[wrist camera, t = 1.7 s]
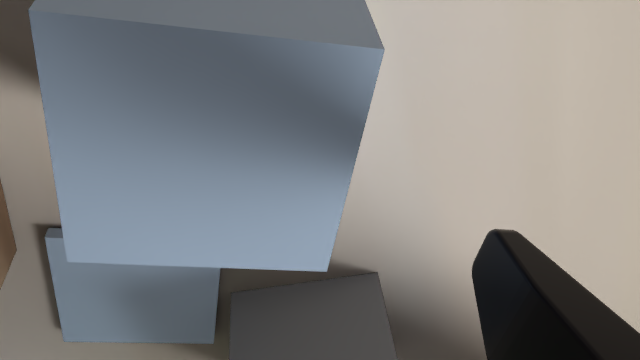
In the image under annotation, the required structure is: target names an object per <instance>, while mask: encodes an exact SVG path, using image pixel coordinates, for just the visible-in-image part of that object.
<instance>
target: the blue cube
mask: <svg viewBox="0 0 640 360" xmlns="http://www.w3.org/2000/svg"><path fill="white" fill-rule="evenodd" d="M28 12H29V18H30V24H31V31H32V37H33V44H34V50H35V57H36V63H37V70H38V76H39V83H40V89H41V96H42V102H43V109H44V115H45V122H46V128H47V135H48V141H49V148H50V154H51V160H52V167H53V173H54V180H55V186H56V193H57V199H58V206H59V212H60V219H61V225H62V232H63V238H64V245H65V251H66V258H67V262H77V263H104V264H131V265H158V266H185V267H212V268H239V269H266V270H293V271H320V272H327V269H328V265H329V261H330V258H331V254H332V250H333V246H334V242H335V238H336V235H337V231H338V227H339V223H340V219H341V215H342V211H343V208H344V204H345V200H346V196H347V192H348V188H349V184H350V181H351V177H352V173H353V169H354V165H355V161H356V158H357V154H358V150H359V146H360V142H361V138H362V134H363V131H364V127H365V123H366V119H367V115H368V111H369V108H370V104H371V100H372V96H373V92H374V88H375V84H376V81H377V77H378V73H379V69H380V65H381V61H382V58H383V54H384V50H385V49H384V47H383V44H382V42H381V39H380V37H379V34H378V32H377V29H376V27H375V24H374V22H373V19H372V17H371V14H370V12H369V10H368V7H367V5H366V2H365V0H35V1H34V2H33V4H32V5H31V7H30V8H29V9H28Z"/></svg>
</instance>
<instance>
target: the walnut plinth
mask: <svg viewBox="0 0 640 360" xmlns="http://www.w3.org/2000/svg"><path fill="white" fill-rule="evenodd" d="M16 251H17V249H16V245H15V241H14V236H13V232H12V228H11V223H10V219H9V215H8V210H7V206H6V202H5V198H4V193H3V189H2V185H1V180H0V289H1V287H2V284H3V282H4V279H5V277H6V275H7V272H8V270H9V267H10V265H11V263H12V260H13V258H14V255H15V253H16Z"/></svg>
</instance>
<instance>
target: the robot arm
mask: <svg viewBox="0 0 640 360" xmlns="http://www.w3.org/2000/svg"><path fill="white" fill-rule="evenodd" d="M472 279H473V284H474V290H475V296H476V301H477V307H478V312H479V318H480V323H481V329H482V334H483V340H484V345H485V350H486V355H487V360H640V333H638V332H637V331H636V330H635V329H634V328H633V327H631V326H630V325H629V324H628V323H627V322H625V321H624V320H623V319H622V318H621V317H619V316H618V315H617V314H616V313H615V312H613V311H612V310H611V309H610V308H609V307H607V306H606V305H605V304H604V303H603V302H601V301H600V300H599V299H598V298H597V297H595V296H594V295H593V294H592V293H591V292H589V291H588V290H587V289H586V288H585V287H583V286H582V285H581V284H580V283H579V282H577V281H576V280H575V279H574V278H573V277H571V276H570V275H569V274H568V273H567V272H565V271H564V270H563V269H562V268H561V267H559V266H558V265H557V264H556V263H555V262H553V261H552V260H551V259H550V258H549V257H547V256H546V255H545V254H544V253H543V252H541V251H540V250H539V249H538V248H537V247H535V246H534V245H533V244H532V243H531V242H529V241H528V240H527V239H526V238H525V237H523V236H522V235H521V234H520V233H518V232H517V231H514V230H503V229H494V230H491V231H490V232H489V233H488V234H487V236H486V238H485V240H484V242H483V244H482V246H481V248H480V250H479V252H478V254H477V256H476V258H475V260H474V263H473V267H472Z"/></svg>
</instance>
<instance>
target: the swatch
mask: <svg viewBox="0 0 640 360" xmlns="http://www.w3.org/2000/svg"><path fill="white" fill-rule="evenodd" d="M45 242H46V248H47V253H48V259H49V264H50V269H51V275H52V280H53V286H54V291H55V297H56V302H57V307H58V313H59V318H60V324H61V329H62V334H63V340H64V342H118V343H194V344H214V335H215V324H216V312H217V301H218V289H219V278H220V268H212V267H185V266H158V265H131V264H104V263H77V262H67V258H66V251H65V245H64V238H63V232H62V228H48V230H47V233H46V235H45Z"/></svg>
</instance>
